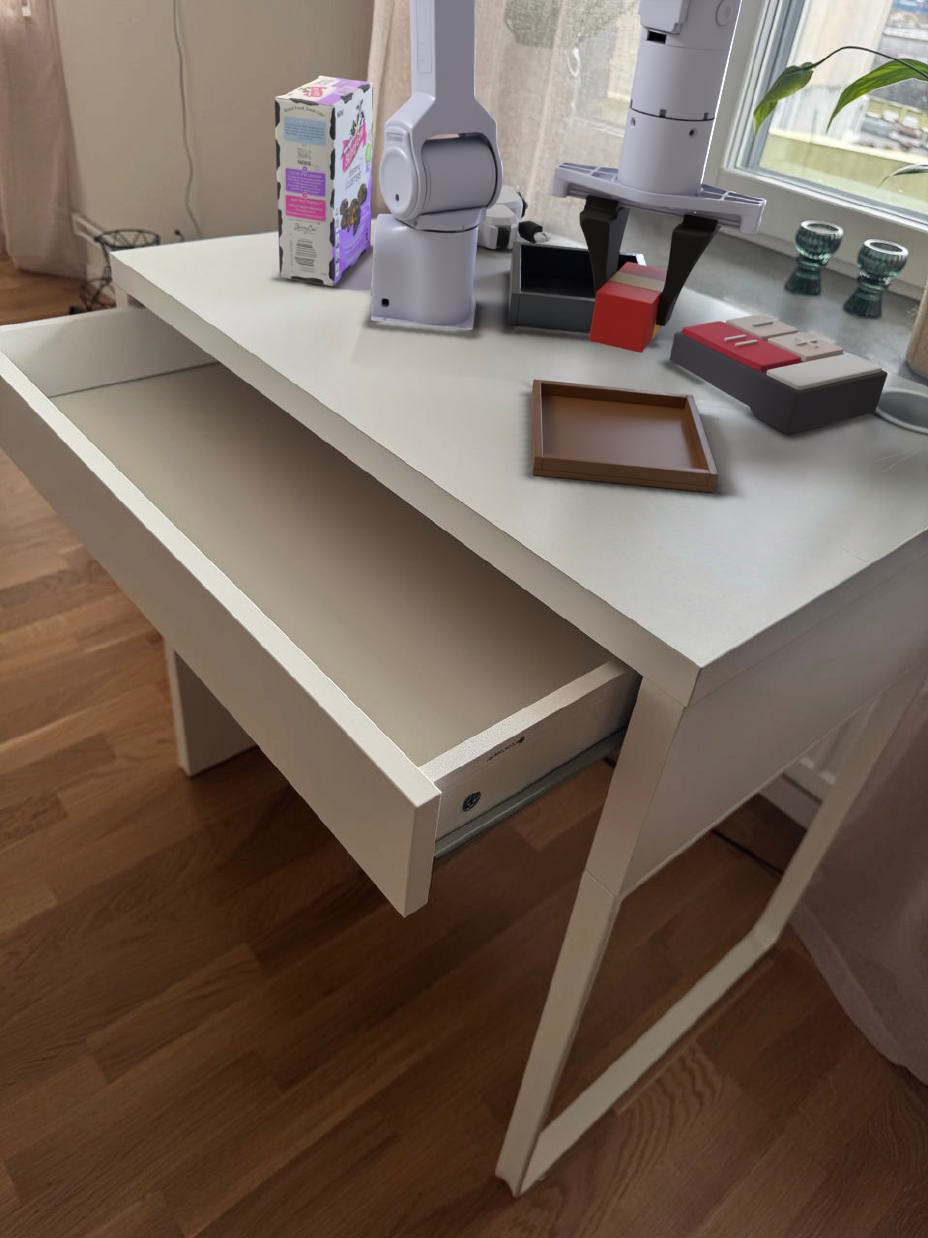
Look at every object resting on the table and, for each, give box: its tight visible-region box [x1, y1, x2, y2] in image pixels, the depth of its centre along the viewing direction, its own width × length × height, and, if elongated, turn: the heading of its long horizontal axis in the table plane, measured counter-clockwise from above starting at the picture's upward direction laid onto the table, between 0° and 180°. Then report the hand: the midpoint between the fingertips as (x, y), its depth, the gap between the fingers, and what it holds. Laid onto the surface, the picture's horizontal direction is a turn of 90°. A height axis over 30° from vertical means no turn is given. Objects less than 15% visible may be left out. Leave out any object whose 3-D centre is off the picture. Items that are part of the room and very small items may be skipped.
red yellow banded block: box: [588, 262, 667, 354], centre depth 71 cm, size 4×8×4 cm, turn 157°
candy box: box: [274, 75, 374, 287], centre depth 96 cm, size 14×6×16 cm, turn 168°
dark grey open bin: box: [507, 241, 647, 334], centre depth 96 cm, size 14×16×4 cm
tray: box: [530, 379, 719, 493], centre depth 74 cm, size 13×13×2 cm
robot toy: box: [477, 183, 551, 250], centre depth 111 cm, size 12×4×15 cm
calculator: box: [669, 313, 888, 434], centre depth 84 cm, size 11×4×15 cm
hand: (633, 314), depth 72 cm, fingers closed on red yellow banded block, 4 cm apart
